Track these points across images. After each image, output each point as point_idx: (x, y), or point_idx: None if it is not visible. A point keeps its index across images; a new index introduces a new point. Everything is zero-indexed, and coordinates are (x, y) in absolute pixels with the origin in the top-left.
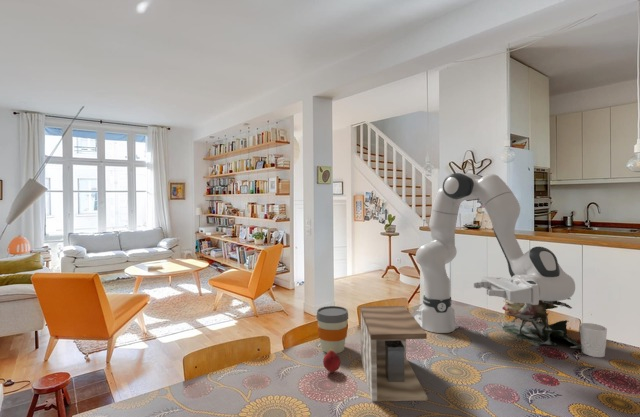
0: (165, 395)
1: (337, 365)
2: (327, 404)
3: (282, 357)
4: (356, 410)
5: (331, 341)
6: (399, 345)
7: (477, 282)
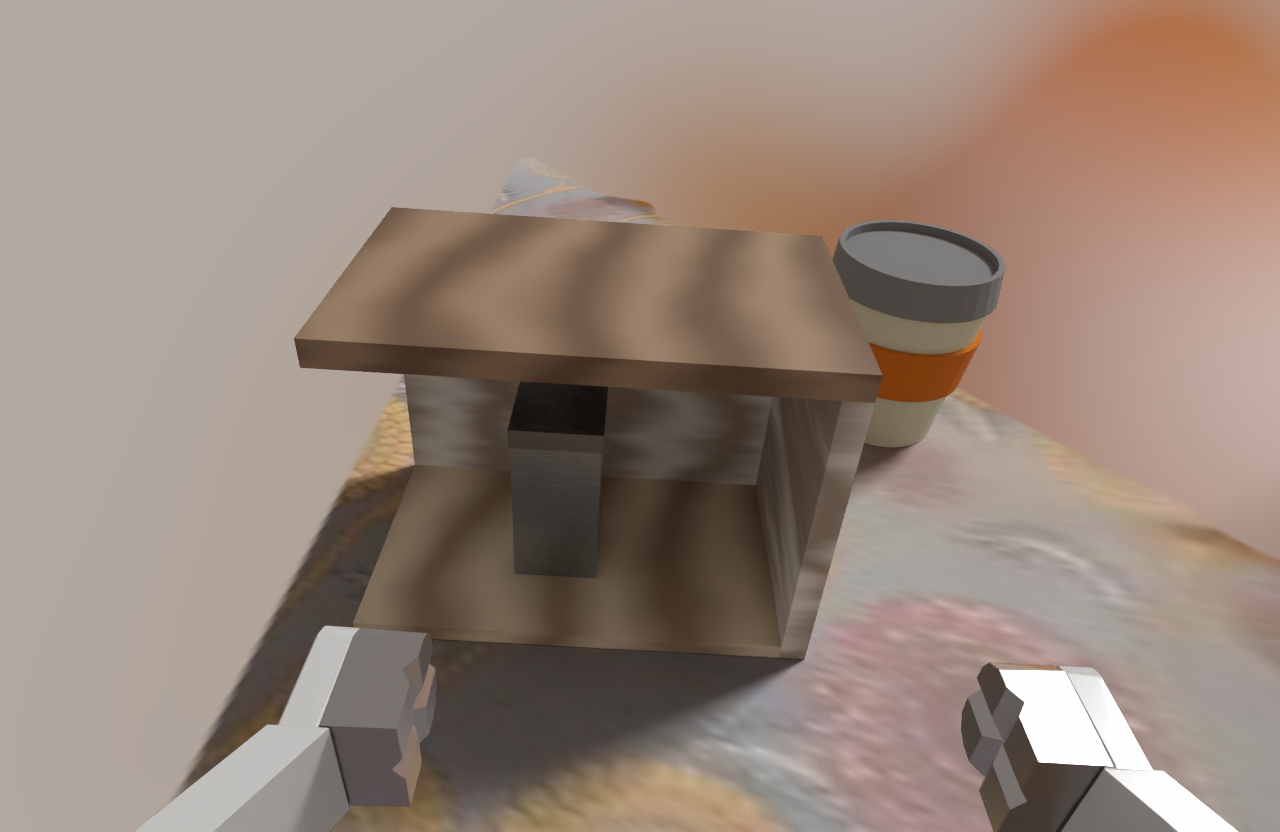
0: (564, 185)
1: None
2: None
3: None
4: (383, 421)
5: None
6: (534, 418)
7: (1098, 725)
